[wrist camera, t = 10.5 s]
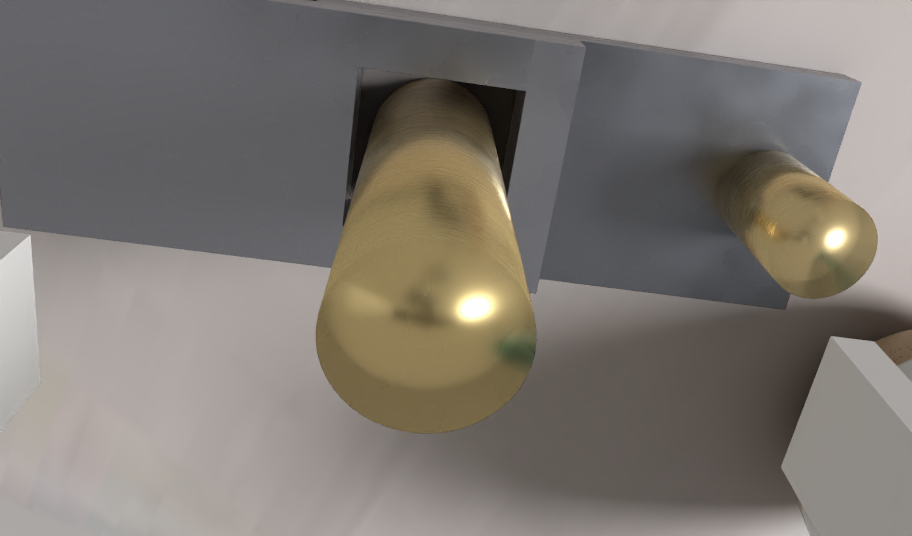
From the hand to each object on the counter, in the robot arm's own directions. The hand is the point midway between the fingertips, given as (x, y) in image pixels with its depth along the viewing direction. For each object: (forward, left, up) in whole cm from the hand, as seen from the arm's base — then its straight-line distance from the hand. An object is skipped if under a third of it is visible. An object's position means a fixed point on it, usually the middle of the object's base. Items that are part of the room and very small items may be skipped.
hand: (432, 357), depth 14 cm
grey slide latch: (0, 0, -15) cm, 15 cm away
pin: (0, 0, -15) cm, 15 cm away
